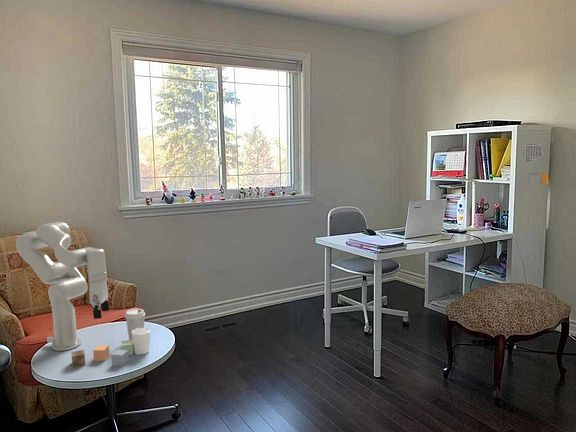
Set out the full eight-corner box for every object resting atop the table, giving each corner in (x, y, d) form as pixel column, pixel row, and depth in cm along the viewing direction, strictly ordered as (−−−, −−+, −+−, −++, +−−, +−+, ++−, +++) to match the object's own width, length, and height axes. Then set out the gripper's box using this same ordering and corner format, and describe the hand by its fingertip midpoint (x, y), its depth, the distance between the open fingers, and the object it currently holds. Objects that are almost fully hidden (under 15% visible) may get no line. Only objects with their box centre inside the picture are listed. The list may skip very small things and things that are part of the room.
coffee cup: (140, 345, 214) (138, 315, 212) (122, 344, 216) (120, 314, 214) (150, 337, 223) (148, 308, 221) (132, 336, 225) (131, 307, 223)
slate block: (112, 365, 195) (111, 354, 194) (118, 360, 200) (117, 349, 199) (122, 366, 194) (122, 355, 194) (128, 360, 199) (127, 350, 198)
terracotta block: (93, 361, 199) (93, 350, 199) (98, 355, 204) (97, 345, 203) (105, 360, 199) (104, 350, 199) (109, 355, 204) (108, 345, 204)
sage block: (121, 356, 204) (120, 345, 203) (122, 351, 209) (122, 341, 208) (133, 354, 205) (132, 344, 204) (134, 350, 210) (133, 339, 209)
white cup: (135, 348, 212) (133, 328, 210) (152, 347, 212) (151, 327, 211) (130, 355, 204) (129, 334, 202) (148, 355, 205) (147, 334, 203)
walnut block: (72, 367, 193) (71, 356, 193) (72, 362, 198) (71, 351, 197) (85, 365, 196) (84, 354, 195) (84, 360, 200) (84, 349, 199)
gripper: (96, 272, 207) (100, 308, 209) (81, 282, 190) (85, 321, 192) (112, 271, 207) (116, 307, 209) (99, 281, 190) (103, 320, 192)
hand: (101, 314), depth 201 cm, fingers open, 9 cm apart
